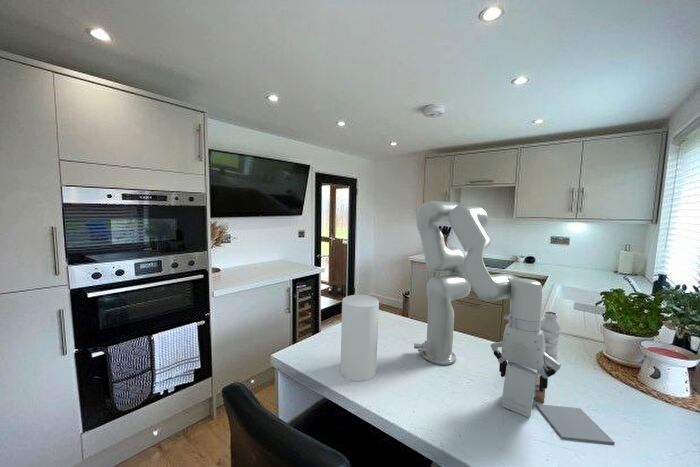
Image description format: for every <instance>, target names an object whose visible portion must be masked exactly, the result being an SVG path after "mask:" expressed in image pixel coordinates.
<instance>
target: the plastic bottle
mask: <svg viewBox="0 0 700 467" xmlns="http://www.w3.org/2000/svg"><path fill="white" fill-rule="evenodd" d="M557 320H558V314H557V313H556V312H553V311H549V310H548V311H544V315H543V319H541V330H542V331H543V334H544V339H545V351H546V354H548V355H549V356H550V357H552V358H553V359H554V360H556V361H557V362H559V357H558V342H559V338H560V335H561V334H560V333H561V326H560V324H559V323H558V321H557ZM544 365H545V367H546V368H547V369H550V368H552V367H553V366H552V365H551V364H550V363H549V362H547V361H546V360H545V364H544Z"/></svg>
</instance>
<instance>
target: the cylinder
mask: <svg viewBox="0 0 700 467" xmlns="http://www.w3.org/2000/svg"><path fill="white" fill-rule="evenodd" d="M379 309H380V300H379V299H378V298H376V297H374V296H370V295H367V294H366V295H365V294H350V295H347V296H344V297H343V298H342V300H341V329H340V331H341V332H340V333H341V335H340V336H341V337H340V338H341V339H340V364H339V365H340V367H339V368H340V369H339V370H340V373H341V375H342V376H343V377H344V378H345V379H348V380H350V381H353V382H354V381H355V382H365V381H369V380H371V379H373V378H374V377H375V376H376V374H377V364H378V363H377V362H378V361H377V359H378V336H379V334H378V333H379V311H380V310H379Z"/></svg>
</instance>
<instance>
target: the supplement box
mask: <svg viewBox="0 0 700 467" xmlns="http://www.w3.org/2000/svg"><path fill="white" fill-rule="evenodd" d="M538 372H539V371H538V370H534V369H531V368H528V367H525V366H522V365H519V364H516V363H513V362H510V361H508V360H507V366H506V373H505V376H504V384H503V389H502V398H501V403H500V404H501V405H500V406H501V407H503V408H506V409H508V410H509V411H513V412H514V413H517V414H519V415H521V416H524V417H526V418H528V419H530V418H531V416H532V408H533V405H534V404H533V403H534V400H533V399H534V392H535V386H536V379H537V377H538Z"/></svg>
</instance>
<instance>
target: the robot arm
mask: <svg viewBox="0 0 700 467" xmlns="http://www.w3.org/2000/svg"><path fill="white" fill-rule="evenodd" d="M488 220H489V216H488V214H487V212H486V211H485V209H483V208H482V207H481V206H477V205H471V204H466V203H460V202H455V201H441V200H439V201H438V200H431V201H427V202H424V203H422V204H421V205H420V206H419V208H418V209H417V212H416V217H415V221H416V224H415V225H416V227H417V231H418V233H419V236H420V238H421V246H422V249H423V250H422V251H423V256H424V260H425V261H424V262H425V265H426V268H427V269H428V271H429V272H432V273H443V272H444V273H445V272H446V274H443V275H437V276H434V277H431V278H430V279H429V280H428V281H427V284H426V295H427V305H428V306H427V307H428V308H427V326H426V340H424V342H422V343H417V342H416V343H415V342H414V343H413V349H415V350H416V349H417V352H421V356H422V357H423V359H425V360H426V361H427V362H430V363H432V364H435V365H440V366H447V365H448V366H449V365H452V364H455V363H456V360H457V355H456V354H455V353H454V351H453V343H454V328H455V327H454V326H455V325H454V324H455V310H454V308H453V306H452V302H451V301H454V300H460V299H464V298H466V297H468V296H469V294H470V292H471V288H472V290H473V292H474V293H475V294H476V296H477V297H478V298H479V299H481V300H483V301H484V302H489V303H490V302H496V301H500V300H501V301H502V300H508V299H509V300H510V301H509V314H504V316H503V319H504V320H506V321H508V323H506V325H505V326H504V331H503V336H502V341H498V342H492V343H491V344H490V347H491V350H492V353H493V355H494V356H495V358H496V359H497V361H498V363H499V365H498V366H499V368H498V369H499V370H498V371H499V372H500V377H502V378H503V377H504V378H505V373H506V366H507V363H508V361H510V362H513V363H516V364H519V365H522V366H525V367H528V368H531V369H534V370H538V371H537V372H539V374H540V376H539V377H540V384H539V390H540V391H541V392H543V390H544V388H545V390H547V389H548V383H549V377H552V376H554V375H555V374H556V373H557V372H558V371H559V370H560V369H561V367H562V364H561V363H560V362H559V361H558V362H557V361H556V360H554V359H553V358H552V357H550V356H549V355H548V354H546V351H545V339H544V334H543V331H542V330H541V321H542V306H543V303H542V302H543V285H542V283H541V282H540V281H537V280H536V279H530V278H521V277H519V276H516V275H514V274H511V273H497V274H490V273H489V270H488V269H487V267H486V265H485V262H484V258H483V257H484V252H485V251H486V249H488V247H490V245H491V239H490V237H489V236H488V234H487V233H486V231H485V229H484V228H485V227H486V225H487V224H488ZM437 224H449V225H450V226H451V228H452V231H453V232H454V234H455V236H456V237H457V240H458V241H459V243H460V245H461V247H462V249H463V250H464V253H463V252H462V251H461V250H460V249H459V248H458V247H454V246H447V245H446V241H445V238H444V237H445V236H444V234H443V232H442V231H441V229H440V227H439V226H438V225H437ZM498 348H501V351H500V350H499V349H498ZM545 360H546V361H547V362H549V363H550V364H551V365H552V366H553V367H552V368H548V367H545V365H544V364H545Z"/></svg>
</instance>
